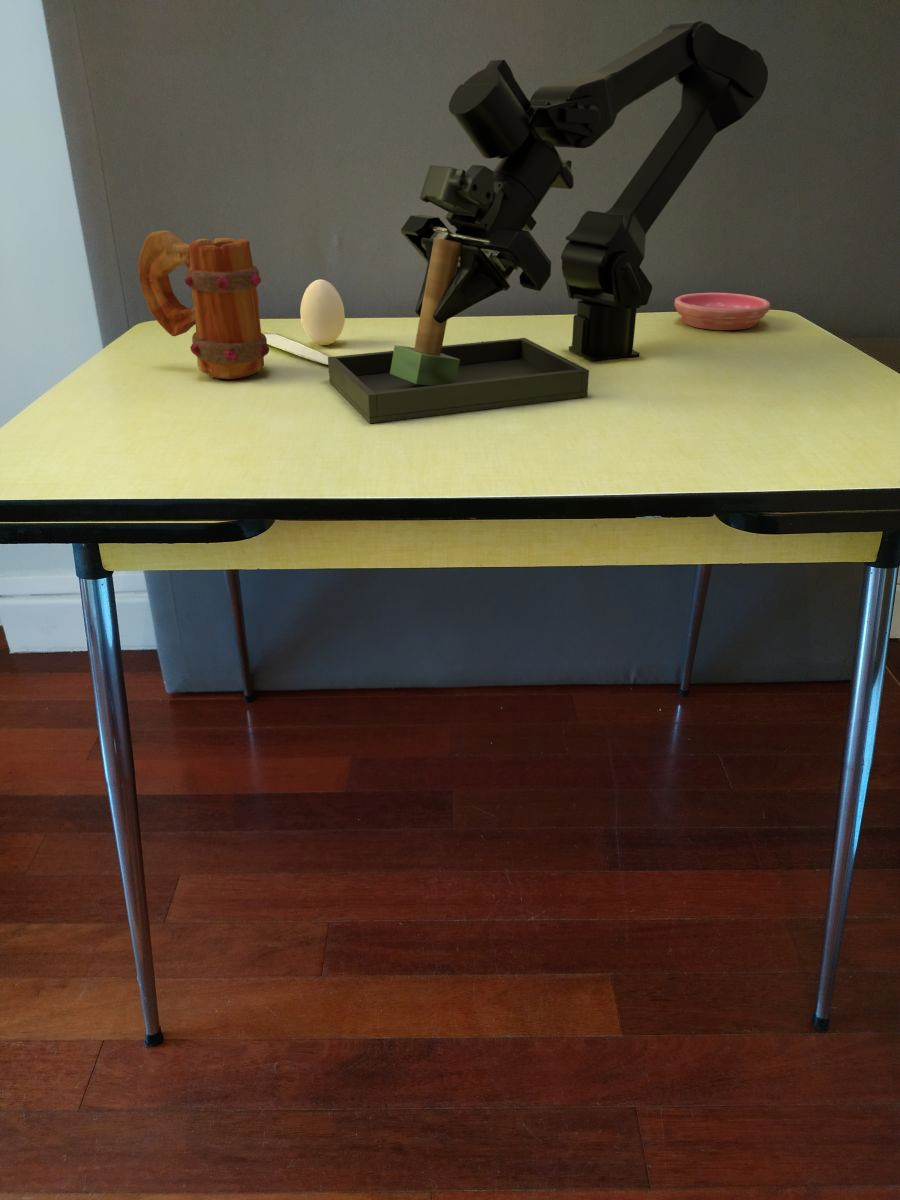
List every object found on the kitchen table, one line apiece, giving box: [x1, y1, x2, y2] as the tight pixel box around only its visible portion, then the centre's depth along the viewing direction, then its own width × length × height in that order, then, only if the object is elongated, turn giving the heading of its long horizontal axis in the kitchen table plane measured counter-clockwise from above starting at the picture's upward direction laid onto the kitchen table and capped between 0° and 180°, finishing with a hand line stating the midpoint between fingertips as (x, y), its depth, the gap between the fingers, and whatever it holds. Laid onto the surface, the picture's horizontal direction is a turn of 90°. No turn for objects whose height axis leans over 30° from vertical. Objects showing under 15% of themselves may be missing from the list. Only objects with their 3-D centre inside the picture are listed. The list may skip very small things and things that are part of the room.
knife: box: [261, 330, 329, 366], centre depth 116 cm, size 1×34×5 cm
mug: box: [137, 229, 270, 380], centre depth 100 cm, size 15×8×15 cm, turn 71°
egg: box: [299, 279, 346, 346], centre depth 113 cm, size 6×6×8 cm
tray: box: [327, 337, 590, 424], centre depth 97 cm, size 24×16×3 cm, turn 111°
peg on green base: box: [390, 238, 462, 386], centre depth 93 cm, size 5×5×14 cm
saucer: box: [674, 292, 771, 331], centre depth 124 cm, size 12×12×3 cm
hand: (427, 317), depth 93 cm, fingers closed on peg on green base, 3 cm apart
